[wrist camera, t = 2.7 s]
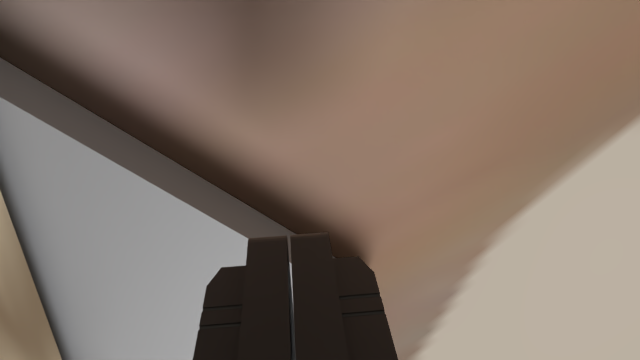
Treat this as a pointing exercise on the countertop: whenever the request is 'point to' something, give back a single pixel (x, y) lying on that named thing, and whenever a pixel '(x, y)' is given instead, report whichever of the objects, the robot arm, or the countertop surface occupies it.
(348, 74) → the countertop surface
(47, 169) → the hinge plate
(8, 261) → the link
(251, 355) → the robot arm
